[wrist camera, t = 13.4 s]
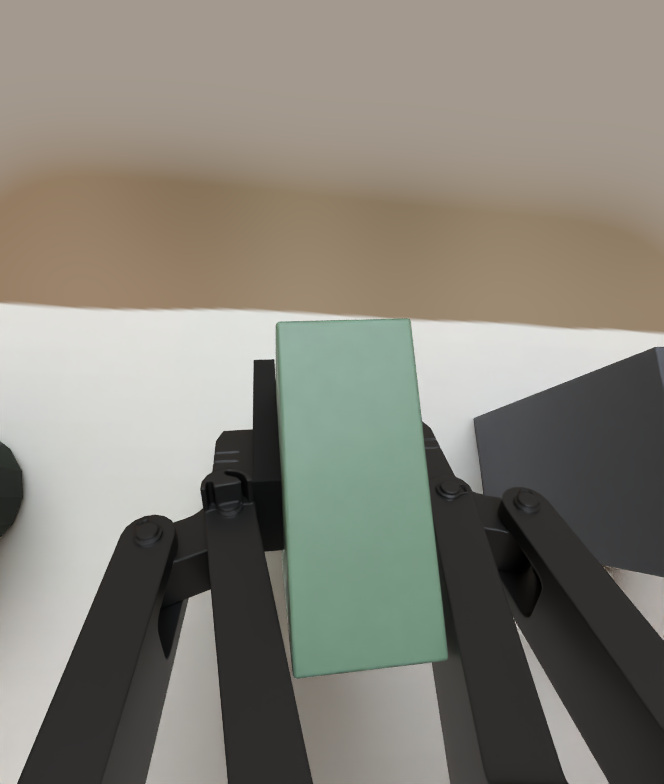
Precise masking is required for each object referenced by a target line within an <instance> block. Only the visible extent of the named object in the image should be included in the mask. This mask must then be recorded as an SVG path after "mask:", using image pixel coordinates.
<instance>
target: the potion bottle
mask: <svg viewBox="0 0 664 784" xmlns="http://www.w3.org/2000/svg"><path fill="white" fill-rule="evenodd" d="M22 498H23V492H22V471H21V469H20V467H19V465H18V463H17V461H16V459H15V457H14V456H13V454H12V452H11V450H10V449H9V448H8V447H7V446H5V445H4V444H3V443H1V442H0V537H1V536H2V535H3V534H4V533H5V532H6V531H7V529H8V528H9V527H10V526H11V525H12V524H13V521H14V519H15V516H16V513H17V511H18V508H19V506H20V503H21V500H22Z"/></svg>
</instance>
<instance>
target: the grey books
mask: <svg viewBox="0 0 664 784" xmlns="http://www.w3.org/2000/svg"><path fill="white" fill-rule="evenodd" d="M474 423H475V430H476V437H477V445H478V452H479V460H480V467H481V475H482V482H483V490H484V495H487V496H493V497H498V498H502V495H503V493H504V492H505V491H506V490H507V489H510V488H513V487H524V488H528V489H532V490H534V491H536V492H538V493H540V494H541V495H542V496H543V497H545V498H546V499H547V500H548V501H549V502H550V504H551V505H552V506H553V507H554V509H555V510H556V511H557V512H558V513H559V515H560V516H561V517H562V518H563V519H564V521H565V522H566V523H567V524H568V526H569V527H570V528H571V529H572V530H573V532H574V533H575V534H576V535H577V536H578V538H579V539H580V540H581V541H582V542H583V544H584V545H585V546H586V547H587V549H588V550H589V551H590V552H591V553H592V555H593V556H594V557H595V558H596V559H597V561H598V562H599V563H600V564H601V565H605V566H610V567H615V568H620V569H625V570H630V571H635V572H640V573H645V574H650V575H655V576H660V577H664V347H654V348H652V349H649V350H647V351H644V352H642V353H639V354H636V355H634V356H631V357H629V358H626V359H624V360H621V361H619V362H616V363H613V364H611V365H608V366H606V367H603V368H601V369H598V370H596V371H593V372H590V373H588V374H585V375H583V376H580V377H578V378H575V379H573V380H570V381H567V382H565V383H562V384H560V385H557V386H555V387H552V388H550V389H547V390H545V391H542V392H539V393H537V394H534V395H532V396H529V397H527V398H524V399H522V400H519V401H516V402H514V403H511V404H509V405H506V406H504V407H501V408H499V409H496V410H493V411H491V412H488V413H486V414H483V415H481V416H478V417H476V418H474Z"/></svg>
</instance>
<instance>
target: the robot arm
mask: <svg viewBox="0 0 664 784" xmlns="http://www.w3.org/2000/svg"><path fill="white" fill-rule="evenodd" d="M422 427H423V436H424V445H425V454H426V463H427V472H428V481H429V489H430V498H431V507H432V516H433V525H434V534H435V543H436V552H437V560H438V569H439V578H440V587H441V596H442V605H443V614H444V623H445V632H446V640H447V649H448V659H447V660H445V661H439V662H432V668H433V674H434V681H435V687H436V694H437V700H438V707H439V713H440V720H441V726H442V733H443V739H444V746H445V752H446V759H447V765H448V772H449V778H450V784H568V782H567V781H566V779H565V776H564V774H563V771H562V768H561V765H560V762H559V759H558V756H557V752H556V749H555V746H554V743H553V740H552V737H551V734H550V731H549V728H548V725H547V721H546V718H545V715H544V712H543V709H542V706H541V703H540V700H539V697H538V693H537V690H536V687H535V684H534V681H533V678H532V675H531V672H530V669H529V665H528V662H527V659H526V656H525V653H524V650H523V647H522V644H521V641H520V638H519V634H518V631H517V628H516V625H515V622H514V619H515V621H516V623H517V624H518V626H519V628H520V630H521V631H522V633H523V635H524V637H525V638H526V640H527V642H528V643H529V645H530V647H531V649H532V650H533V652H534V654H535V656H536V657H537V659H538V661H539V663H540V664H541V666H542V668H543V669H544V671H545V673H546V675H547V676H548V678H549V680H550V682H551V683H552V685H553V687H554V688H555V690H556V692H557V694H558V695H559V697H560V699H561V701H562V702H563V704H564V706H565V708H566V709H567V711H568V713H569V714H570V716H571V718H572V720H573V721H574V723H575V725H576V727H577V728H578V730H579V732H580V733H581V735H582V737H583V739H584V740H585V742H586V744H587V746H588V747H589V749H590V751H591V752H592V754H593V756H594V758H595V759H596V761H597V763H598V765H599V766H600V768H601V770H602V772H603V773H604V775H605V777H606V778H607V780H608V782H609V784H664V641H663V640H662V638H661V637H660V636H659V635H658V633H657V632H656V631H655V630H654V629H653V627H652V626H651V625H650V624H649V623H648V621H647V620H646V619H645V618H644V616H643V615H642V614H641V613H640V612H639V610H638V609H637V608H636V607H635V606H634V604H633V603H632V602H631V601H630V600H629V598H628V597H627V596H626V595H625V593H624V592H623V591H622V590H621V589H620V587H619V586H618V585H617V584H616V583H615V581H614V580H613V579H612V578H611V576H610V575H609V574H608V573H607V572H606V570H605V569H604V568H603V567H602V566H601V564H600V563H599V562H598V561H597V559H596V558H595V557H594V556H593V555H592V553H591V552H590V551H589V550H588V549H587V547H586V546H585V545H584V544H583V542H582V541H581V540H580V539H579V538H578V536H577V535H576V534H575V533H574V532H573V530H572V529H571V528H570V527H569V526H568V524H567V523H566V522H565V521H564V519H563V518H562V517H561V516H560V515H559V513H558V512H557V511H556V510H555V509H554V507H553V506H552V505H551V504H550V502H549V501H548V500H547V499H546V498H545V497H543V496H542V495H541V494H540V493H538V492H536V491H534V490H532V489H528V488H524V487H513V488H510V489H507V490H506V491H505V492H504V493H503V495H502V498H498V497H493V496H487V495H482V494H478V493H475V492H473V491H472V490H471V488H470V486H469V485H468V484H467V483H465V482H464V481H463V480H461V479H459V478H457V477H455V475H454V473H453V472H452V470H451V468H450V466H449V464H448V462H447V460H446V458H445V456H444V454H443V452H442V450H441V449H440V446H439V444H438V442H437V440H436V438H435V436H434V434H433V432H432V430H431V428H430V427H428V426H427V425H426V424H425V423H424V422H422ZM200 490H201V496H202V502H203V509H202V510H200V511H199V512H198V513H196V514H195V515H193V516H191V517H188V518H186V519H183V520H180V521H177V522H174V523H173V522H172V521H171V520H170V519H168V518H167V517H165V516H159V515H151V516H144V517H142V518H140V519H137V520H135V521H134V522H132V523H131V524H130V525H128V526H127V527H126V528H125V530H124V531H123V533H122V534H121V536H120V538H119V541H118V543H117V546H116V548H115V550H114V553H113V555H112V558H111V560H110V562H109V565H108V567H107V570H106V572H105V574H104V577H103V579H102V582H101V584H100V586H99V589H98V591H97V594H96V596H95V598H94V601H93V603H92V606H91V608H90V610H89V613H88V615H87V617H86V620H85V622H84V625H83V627H82V629H81V632H80V634H79V637H78V639H77V641H76V644H75V646H74V649H73V651H72V653H71V656H70V658H69V661H68V663H67V665H66V668H65V670H64V673H63V675H62V677H61V680H60V682H59V685H58V687H57V689H56V692H55V694H54V697H53V699H52V701H51V704H50V706H49V709H48V711H47V713H46V716H45V718H44V720H43V723H42V725H41V728H40V730H39V732H38V735H37V737H36V740H35V742H34V744H33V747H32V749H31V752H30V754H29V756H28V759H27V761H26V764H25V766H24V768H23V771H22V773H21V776H20V778H19V780H18V783H17V784H145V783H146V779H147V774H148V770H149V766H150V762H151V757H152V753H153V749H154V744H155V740H156V736H157V731H158V727H159V723H160V719H161V714H162V710H163V706H164V701H165V697H166V693H167V688H168V684H169V680H170V676H171V671H172V667H173V663H174V658H175V654H176V650H177V646H178V641H179V637H180V633H181V628H182V624H183V620H184V615H185V611H186V607H187V603H188V598H190V597H192V596H195V595H197V594H200V593H202V592H205V591H207V590H210V589H211V596H212V608H213V619H214V630H215V642H216V653H217V664H218V676H219V687H220V698H221V710H222V721H223V732H224V744H225V755H226V766H227V778H228V784H313V782H312V777H311V772H310V767H309V762H308V758H307V753H306V748H305V743H304V739H303V734H302V729H301V724H300V720H299V715H298V710H297V705H296V701H295V696H294V691H293V686H292V681H291V677H290V672H289V667H288V662H287V658H286V653H285V648H284V643H283V639H282V634H281V629H280V624H279V620H278V615H277V610H276V605H275V600H274V596H273V591H272V586H271V581H270V577H269V572H268V567H267V562H266V558H265V553H264V552H266V551H277V550H284V540H283V511H282V483H281V465H280V449H279V433H278V417H277V401H276V380H275V364H274V359H272V360H254V382H253V430H235V431H223V433H222V434H221V435H220V437H219V438H218V439H217V441H216V446H215V455H214V464H213V471H212V473H210V474H209V475H207V476H206V477H205V479H204V480H203V481H202V484H201V488H200ZM513 618H514V619H513Z"/></svg>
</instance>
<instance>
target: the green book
mask: <svg viewBox="0 0 664 784" xmlns="http://www.w3.org/2000/svg"><path fill="white" fill-rule="evenodd" d="M276 401H277V417H278V433H279V449H280V465H281V483H282V511H283V540H284V550H282V568H283V580H284V590H285V601H286V611H287V621H288V631H289V641H290V652H291V662H292V672H293V676H294V678H297V679H299V678H307V677H315V676H323V675H332V674H340V673H348V672H356V671H365V670H373V669H381V668H389V667H398V666H406V665H414V664H422V663H431V662H439V661H445V660H447V659H448V649H447V640H446V632H445V623H444V614H443V605H442V596H441V587H440V578H439V569H438V560H437V552H436V543H435V534H434V525H433V516H432V507H431V498H430V489H429V481H428V472H427V463H426V454H425V445H424V436H423V427H422V418H421V409H420V401H419V392H418V383H417V374H416V365H415V356H414V347H413V338H412V330H411V322H410V319H370V320H331V321H291V322H278V323H277V324H276Z"/></svg>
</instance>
